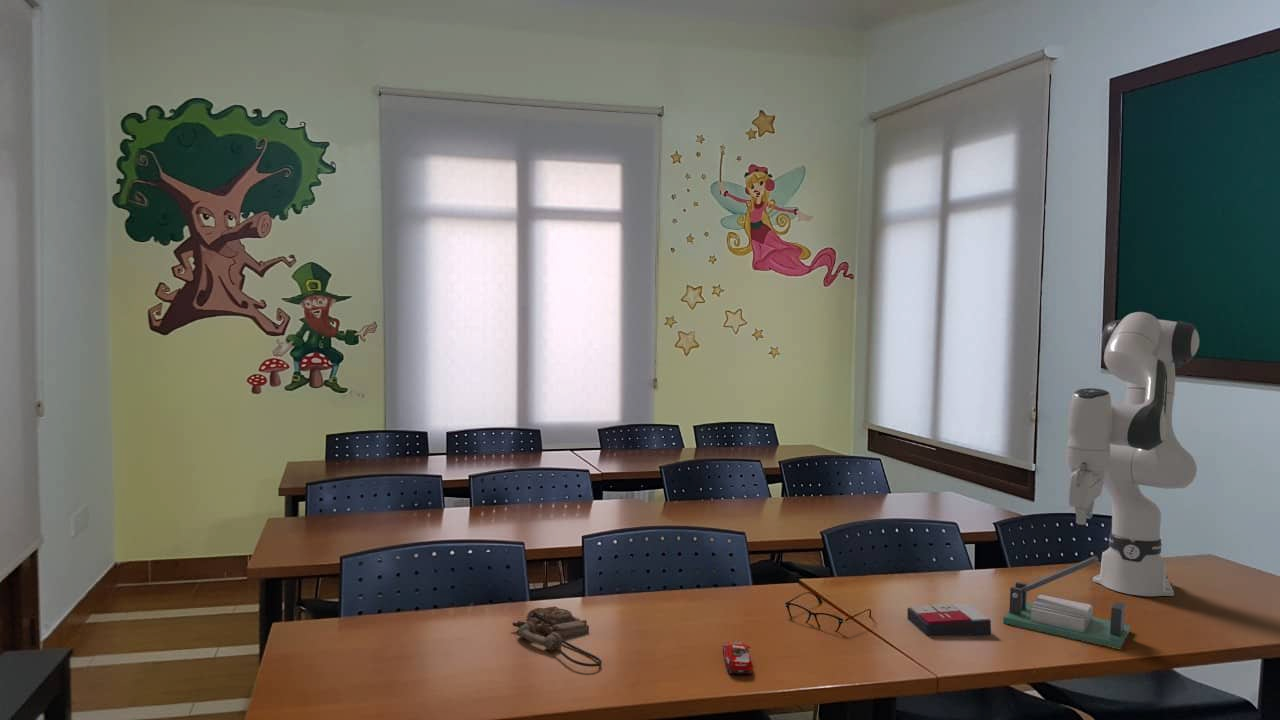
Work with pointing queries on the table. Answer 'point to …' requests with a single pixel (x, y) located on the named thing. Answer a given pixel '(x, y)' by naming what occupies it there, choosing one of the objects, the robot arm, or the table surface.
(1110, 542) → the robot arm
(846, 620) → the eyeglasses
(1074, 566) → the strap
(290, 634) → the table surface
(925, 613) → the black and red box
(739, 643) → the race car
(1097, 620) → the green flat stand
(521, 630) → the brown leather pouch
